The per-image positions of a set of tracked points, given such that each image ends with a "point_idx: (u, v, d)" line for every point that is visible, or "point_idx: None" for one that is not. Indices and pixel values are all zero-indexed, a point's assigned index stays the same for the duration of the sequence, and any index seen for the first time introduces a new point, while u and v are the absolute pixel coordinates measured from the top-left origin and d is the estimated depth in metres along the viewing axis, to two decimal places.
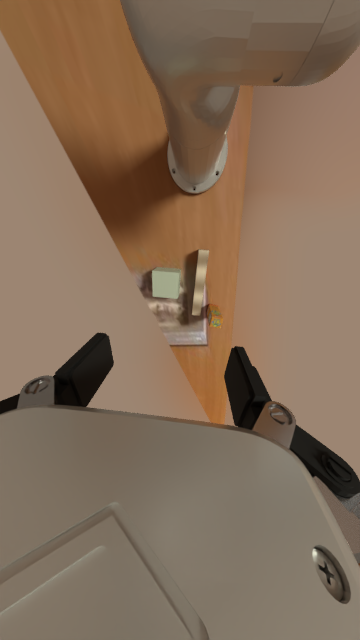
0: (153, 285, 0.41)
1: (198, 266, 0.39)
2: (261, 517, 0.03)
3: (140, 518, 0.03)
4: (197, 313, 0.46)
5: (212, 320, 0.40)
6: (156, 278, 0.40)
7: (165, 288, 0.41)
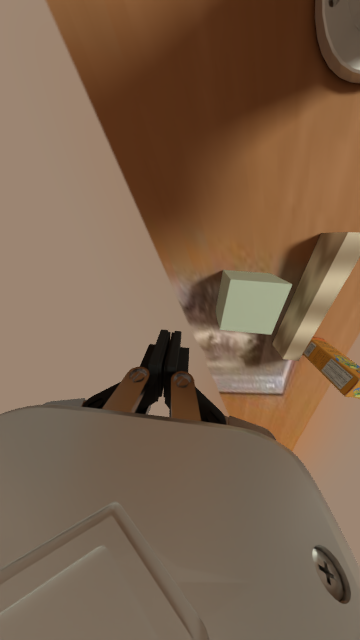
0: (226, 309, 0.20)
1: (332, 269, 0.18)
2: (261, 517, 0.03)
3: (140, 518, 0.03)
4: (294, 356, 0.24)
5: (357, 386, 0.18)
6: (235, 296, 0.19)
7: (251, 314, 0.20)
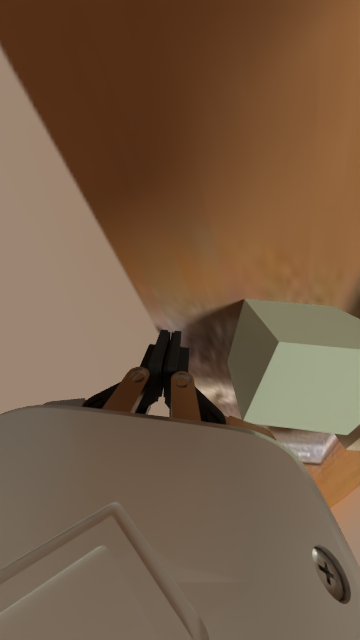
0: (260, 393, 0.09)
1: None
2: (261, 517, 0.03)
3: (140, 518, 0.03)
4: None
5: None
6: (284, 373, 0.08)
7: (314, 405, 0.09)
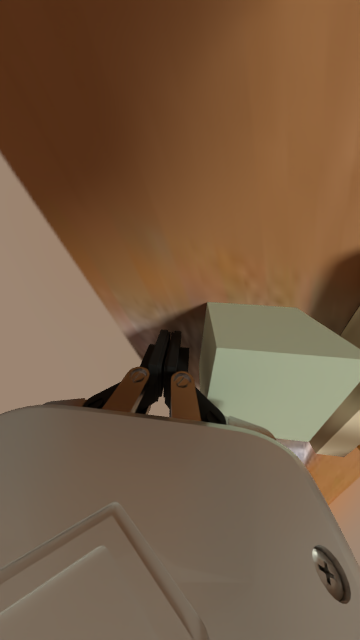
0: (211, 400, 0.09)
1: None
2: (261, 517, 0.03)
3: (140, 518, 0.03)
4: (338, 452, 0.14)
5: None
6: (230, 379, 0.08)
7: (268, 411, 0.09)
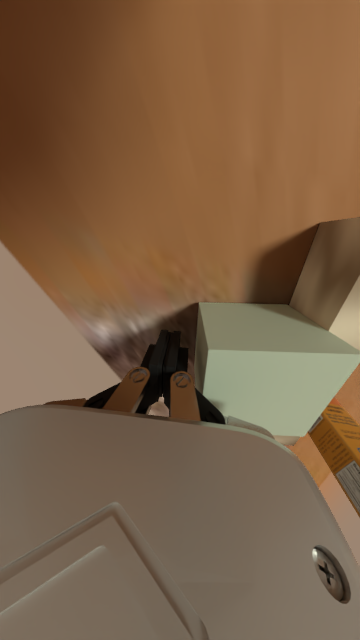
0: None
1: (351, 302, 0.08)
2: (261, 517, 0.03)
3: (140, 518, 0.03)
4: (286, 440, 0.14)
5: None
6: (224, 380, 0.08)
7: (263, 409, 0.09)
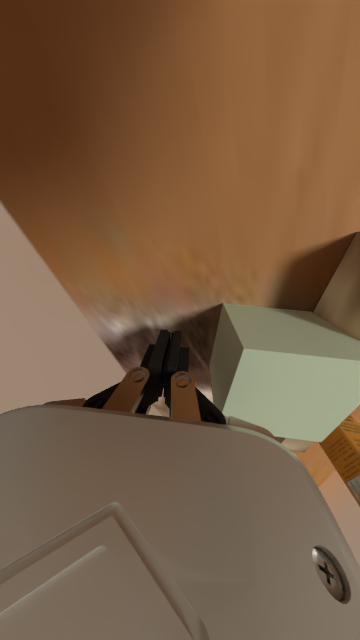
0: (231, 400, 0.09)
1: None
2: (261, 517, 0.03)
3: (140, 518, 0.03)
4: (298, 447, 0.14)
5: None
6: (253, 380, 0.08)
7: (286, 412, 0.09)
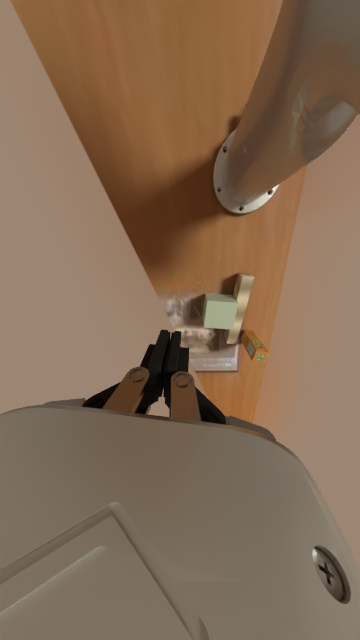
0: (206, 316, 0.36)
1: (240, 293, 0.35)
2: (261, 517, 0.03)
3: (140, 518, 0.03)
4: (233, 341, 0.41)
5: (256, 354, 0.35)
6: (210, 309, 0.35)
7: (220, 318, 0.36)
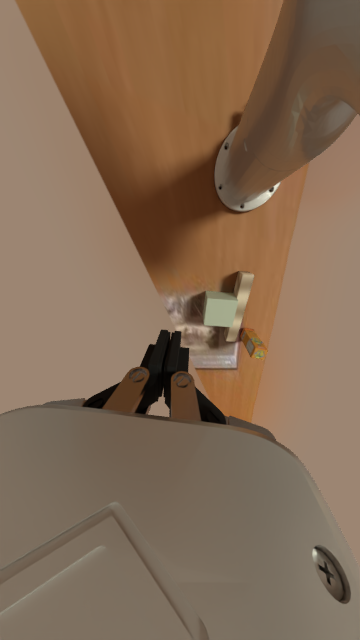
0: (206, 313, 0.36)
1: (240, 291, 0.35)
2: (261, 517, 0.03)
3: (140, 518, 0.03)
4: (232, 339, 0.41)
5: (255, 351, 0.35)
6: (210, 306, 0.35)
7: (220, 316, 0.36)
